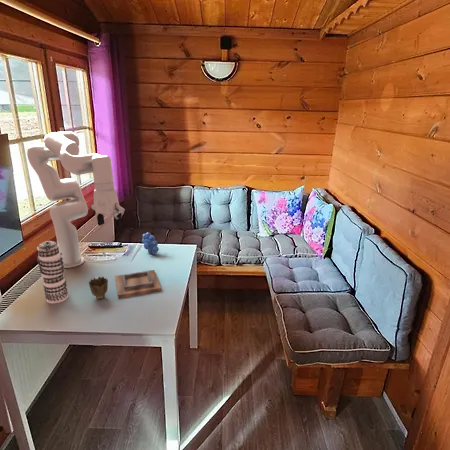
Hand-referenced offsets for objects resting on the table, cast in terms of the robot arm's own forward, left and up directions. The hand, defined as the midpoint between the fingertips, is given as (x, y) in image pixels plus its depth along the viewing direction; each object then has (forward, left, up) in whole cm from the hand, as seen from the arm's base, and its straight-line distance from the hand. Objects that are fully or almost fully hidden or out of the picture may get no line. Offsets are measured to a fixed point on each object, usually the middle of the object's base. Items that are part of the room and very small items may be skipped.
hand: (110, 226), depth 149 cm
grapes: (+19, +27, -28) cm, 43 cm away
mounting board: (+9, -4, -28) cm, 29 cm away
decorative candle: (-24, -4, -28) cm, 37 cm away
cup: (-7, -10, -28) cm, 31 cm away
